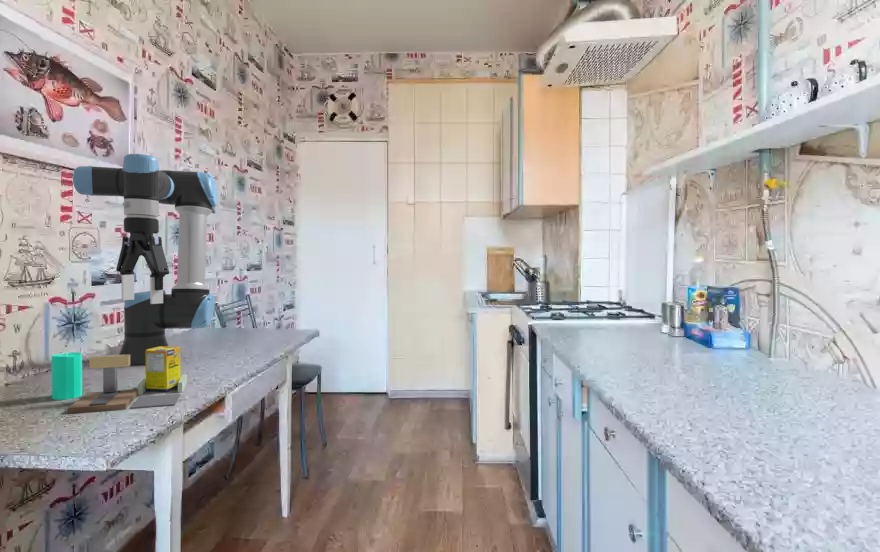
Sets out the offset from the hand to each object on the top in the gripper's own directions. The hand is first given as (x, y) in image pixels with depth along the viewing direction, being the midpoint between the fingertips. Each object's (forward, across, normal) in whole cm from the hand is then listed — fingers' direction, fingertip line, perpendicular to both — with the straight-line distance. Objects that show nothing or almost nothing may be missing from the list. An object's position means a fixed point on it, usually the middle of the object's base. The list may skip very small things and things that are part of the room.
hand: (142, 301), depth 124 cm
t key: (+22, -2, -7) cm, 23 cm away
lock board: (+23, +1, -9) cm, 25 cm away
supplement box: (+24, 0, +5) cm, 24 cm away
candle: (+24, -12, -12) cm, 29 cm away
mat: (+23, +10, -2) cm, 25 cm away
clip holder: (+24, 0, +5) cm, 24 cm away
